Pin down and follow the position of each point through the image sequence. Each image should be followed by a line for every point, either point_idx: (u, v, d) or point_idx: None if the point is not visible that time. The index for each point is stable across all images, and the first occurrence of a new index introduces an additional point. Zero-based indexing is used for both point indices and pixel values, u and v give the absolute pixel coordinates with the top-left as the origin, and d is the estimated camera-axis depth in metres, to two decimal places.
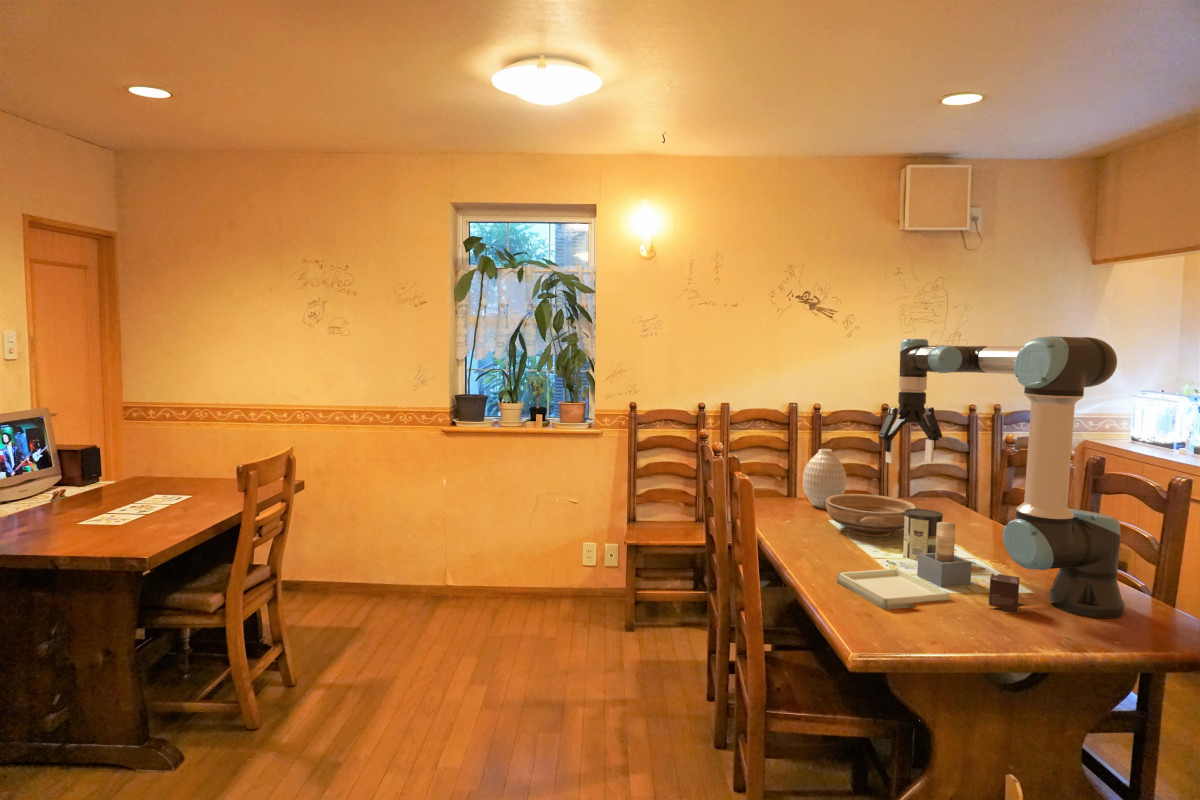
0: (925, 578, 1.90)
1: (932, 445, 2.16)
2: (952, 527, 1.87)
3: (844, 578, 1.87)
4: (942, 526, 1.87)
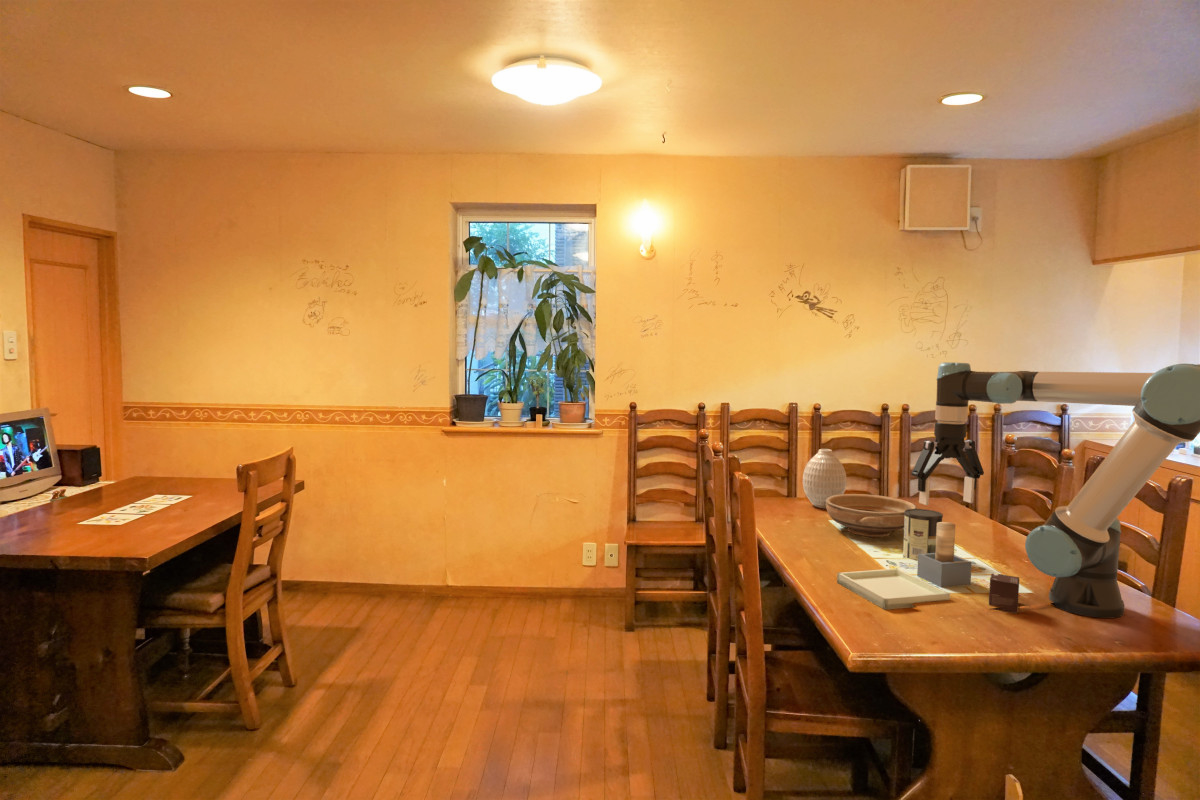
0: (925, 578, 1.90)
1: (972, 484, 1.89)
2: (952, 527, 1.87)
3: (844, 578, 1.87)
4: (942, 526, 1.87)
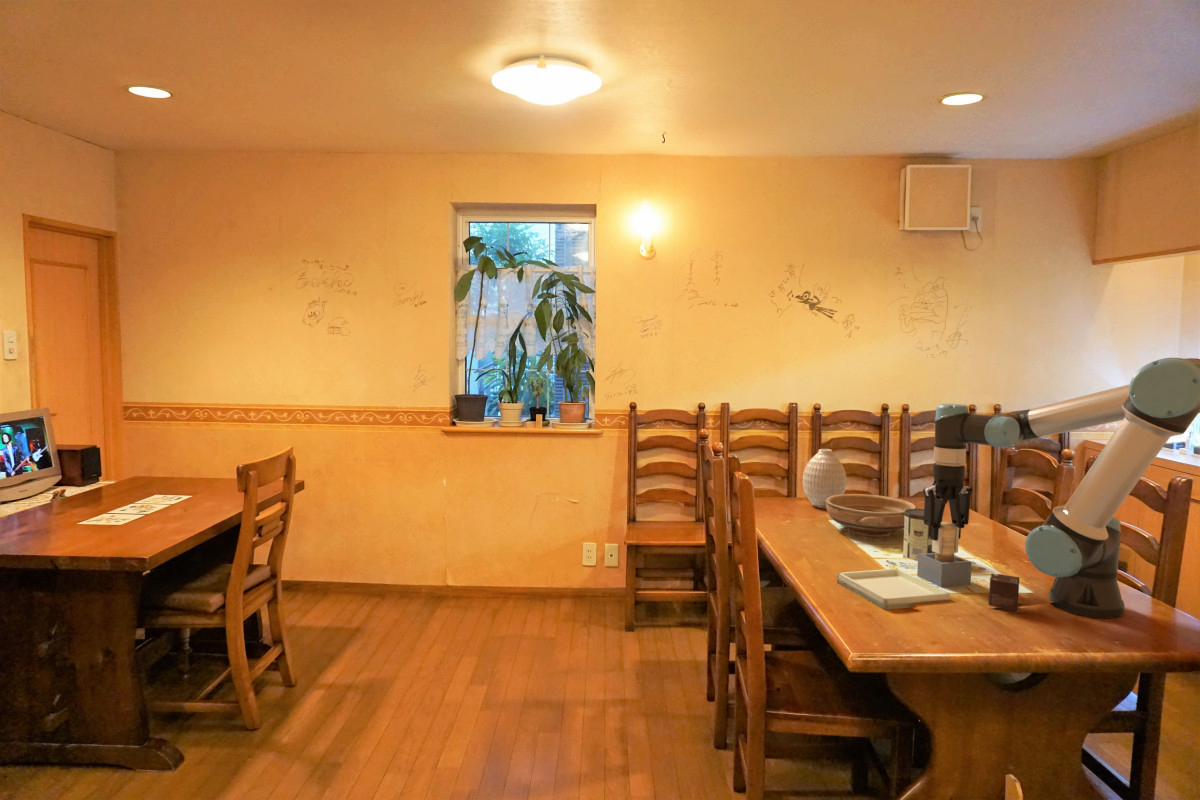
0: (925, 578, 1.90)
1: (957, 533, 1.88)
2: (952, 527, 1.87)
3: (844, 578, 1.87)
4: (942, 526, 1.87)
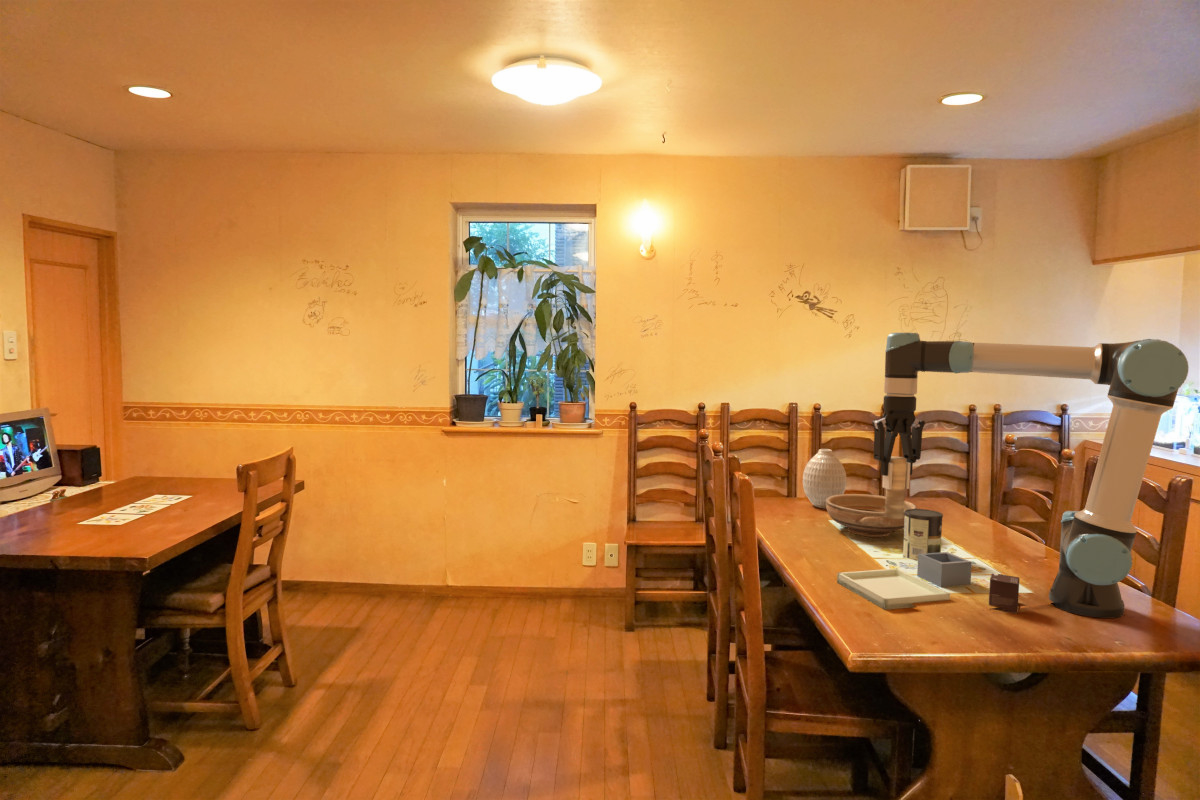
0: (925, 578, 1.90)
1: (908, 468, 1.80)
2: (903, 460, 1.78)
3: (844, 578, 1.87)
4: (892, 459, 1.79)
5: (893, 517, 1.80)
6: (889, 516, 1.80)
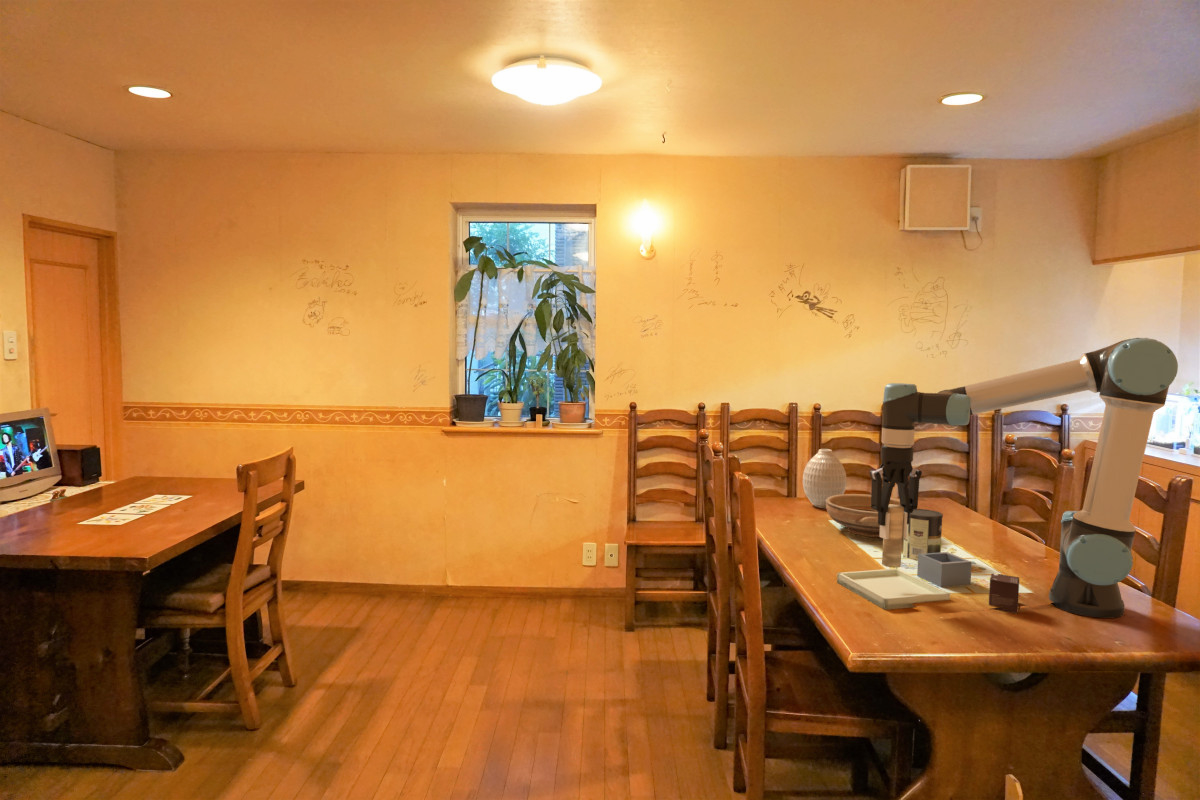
0: (925, 578, 1.90)
1: (905, 518, 1.81)
2: (900, 509, 1.79)
3: (844, 578, 1.87)
4: (890, 508, 1.80)
5: (890, 565, 1.80)
6: (886, 564, 1.81)
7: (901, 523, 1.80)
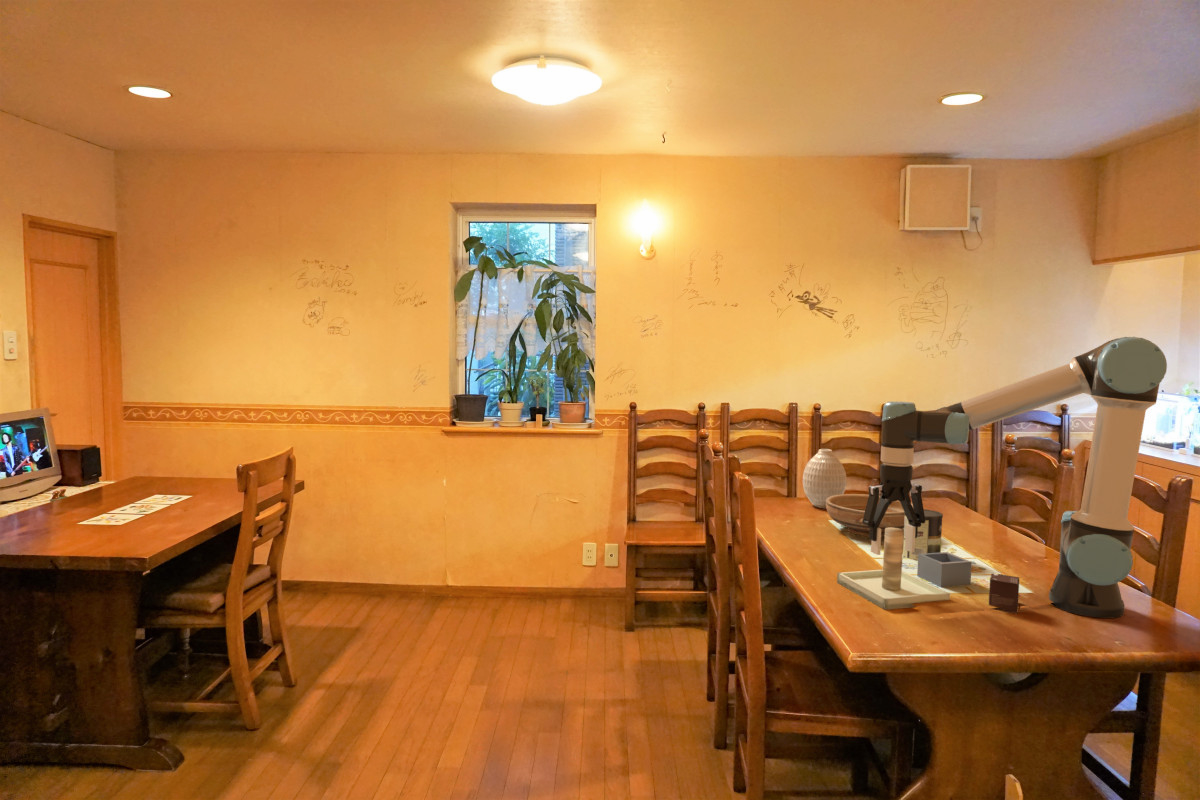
0: (925, 578, 1.90)
1: (913, 532, 1.81)
2: (900, 533, 1.79)
3: (844, 578, 1.87)
4: (890, 532, 1.80)
5: (890, 589, 1.81)
6: (886, 588, 1.81)
7: (901, 547, 1.80)
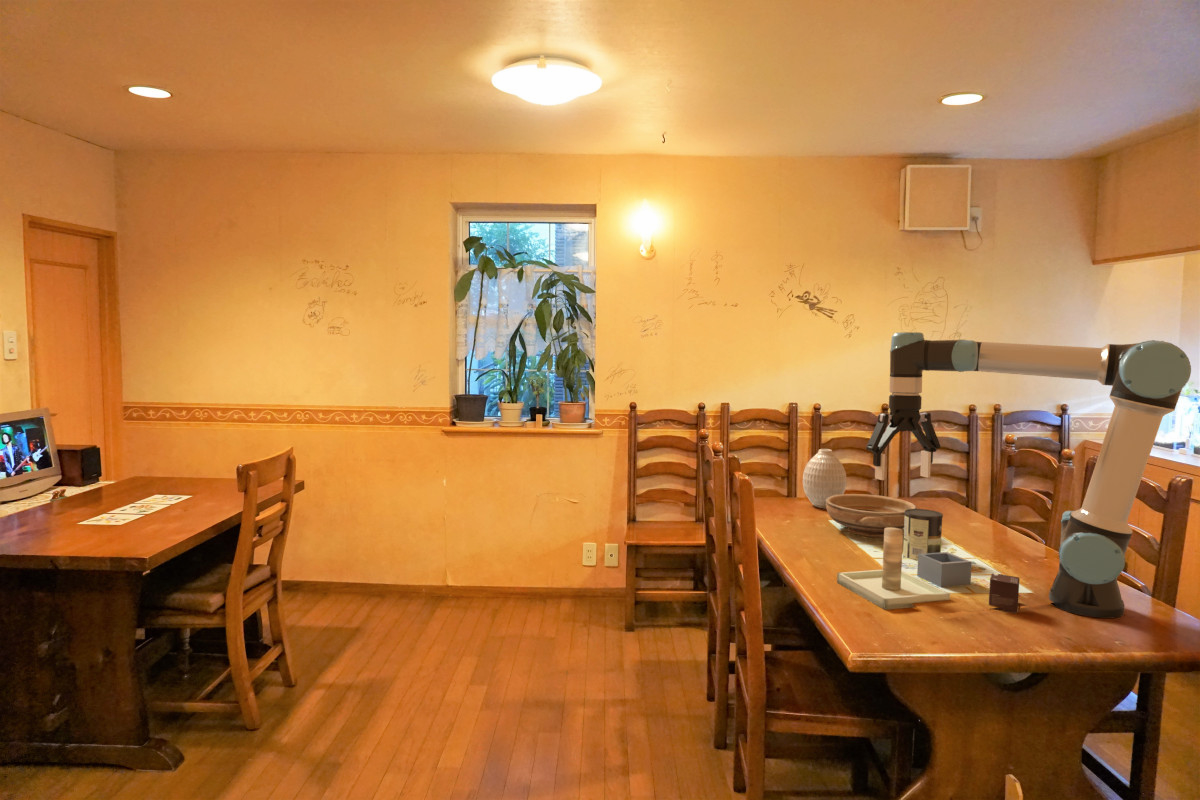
0: (925, 578, 1.90)
1: (929, 457, 1.83)
2: (899, 533, 1.79)
3: (844, 578, 1.87)
4: (889, 532, 1.80)
5: (890, 589, 1.81)
6: (886, 588, 1.81)
7: (901, 546, 1.80)
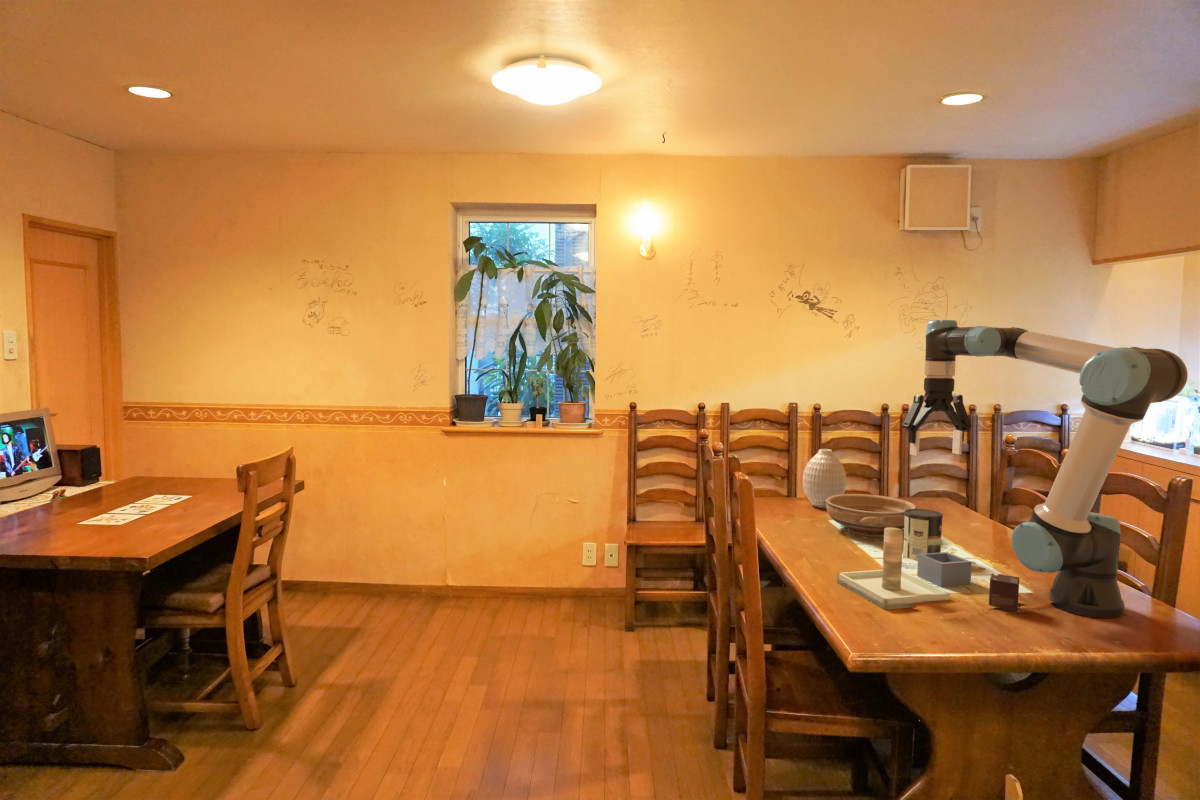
0: (925, 578, 1.90)
1: (960, 436, 1.98)
2: (899, 533, 1.80)
3: (844, 578, 1.87)
4: (889, 532, 1.80)
5: (890, 589, 1.81)
6: (886, 588, 1.81)
7: (900, 546, 1.80)
